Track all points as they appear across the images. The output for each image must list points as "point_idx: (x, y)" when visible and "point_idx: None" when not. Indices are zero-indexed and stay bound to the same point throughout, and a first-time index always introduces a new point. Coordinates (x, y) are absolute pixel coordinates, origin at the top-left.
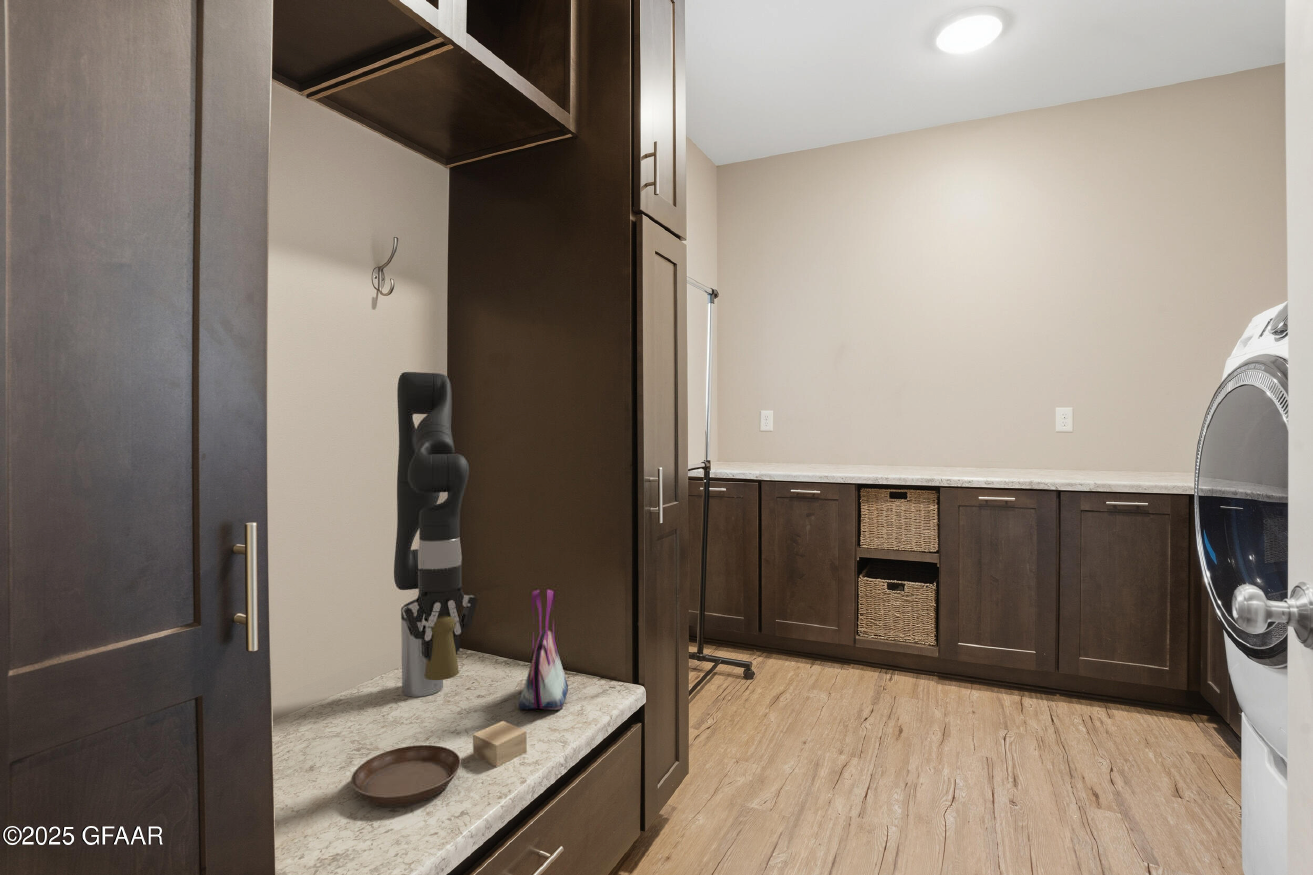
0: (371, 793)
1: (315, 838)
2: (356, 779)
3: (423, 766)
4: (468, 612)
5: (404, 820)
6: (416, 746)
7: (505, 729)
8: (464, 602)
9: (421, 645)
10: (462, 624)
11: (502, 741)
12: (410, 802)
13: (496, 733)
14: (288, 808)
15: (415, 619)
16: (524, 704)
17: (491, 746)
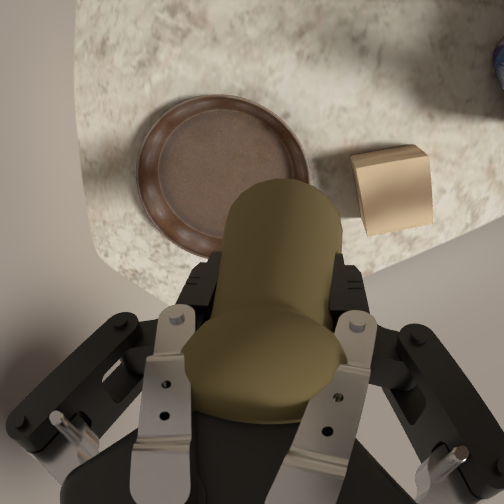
0: (169, 181)
1: (113, 233)
2: (146, 155)
3: (259, 142)
4: (416, 445)
5: (203, 259)
6: (254, 105)
7: (412, 193)
8: (419, 491)
9: (181, 293)
10: (382, 385)
11: (382, 230)
12: (214, 240)
13: (391, 196)
14: (81, 151)
15: (104, 432)
16: (500, 83)
17: (364, 219)
